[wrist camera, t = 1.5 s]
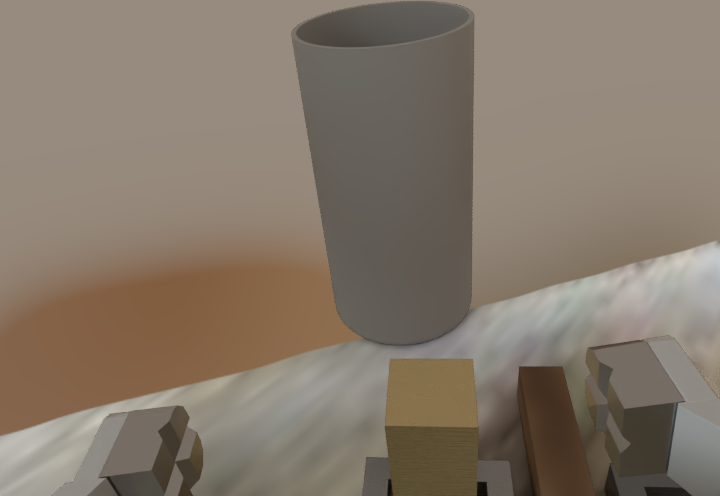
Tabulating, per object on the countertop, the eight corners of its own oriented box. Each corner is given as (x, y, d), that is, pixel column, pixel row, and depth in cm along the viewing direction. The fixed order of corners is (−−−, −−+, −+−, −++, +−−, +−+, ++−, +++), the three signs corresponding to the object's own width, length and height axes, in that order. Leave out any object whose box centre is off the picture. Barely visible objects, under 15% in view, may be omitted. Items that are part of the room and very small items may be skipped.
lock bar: (403, 584, 33) (384, 425, 25) (406, 517, 36) (390, 358, 28) (474, 588, 32) (478, 427, 24) (470, 520, 35) (472, 359, 28)
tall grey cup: (468, 354, 47) (470, 43, 33) (322, 344, 50) (266, 53, 36) (473, 264, 57) (477, -4, 43) (351, 260, 60) (317, 6, 46)
